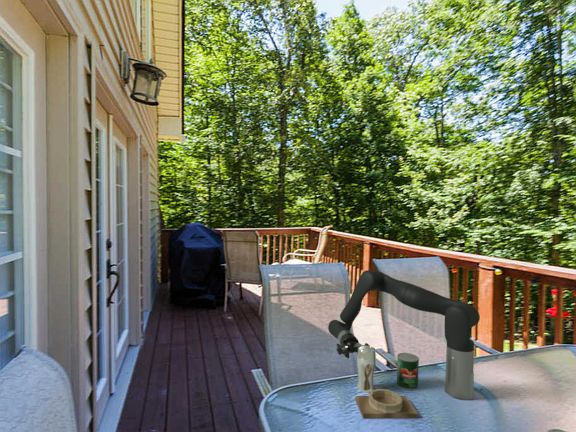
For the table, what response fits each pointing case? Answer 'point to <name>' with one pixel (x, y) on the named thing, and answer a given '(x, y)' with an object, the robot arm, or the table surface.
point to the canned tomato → (407, 371)
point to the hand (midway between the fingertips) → (358, 355)
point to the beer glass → (366, 367)
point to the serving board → (377, 414)
